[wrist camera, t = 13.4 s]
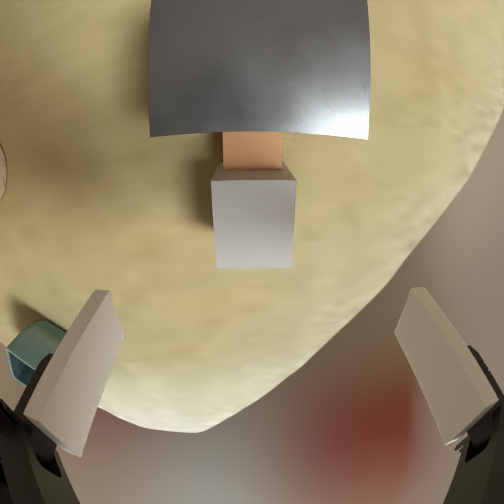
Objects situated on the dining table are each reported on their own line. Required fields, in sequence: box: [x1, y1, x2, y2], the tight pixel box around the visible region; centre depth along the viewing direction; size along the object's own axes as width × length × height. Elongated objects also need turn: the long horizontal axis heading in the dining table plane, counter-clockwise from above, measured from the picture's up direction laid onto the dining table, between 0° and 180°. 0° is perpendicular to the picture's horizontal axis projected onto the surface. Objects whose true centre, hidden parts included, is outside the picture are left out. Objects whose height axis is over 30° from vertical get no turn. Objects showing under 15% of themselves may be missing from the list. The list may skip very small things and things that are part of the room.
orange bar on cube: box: [211, 132, 296, 269], centre depth 16 cm, size 22×5×6 cm, turn 0°
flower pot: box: [6, 320, 66, 387], centre depth 27 cm, size 9×9×9 cm
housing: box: [148, 0, 370, 139], centre depth 13 cm, size 8×10×10 cm
